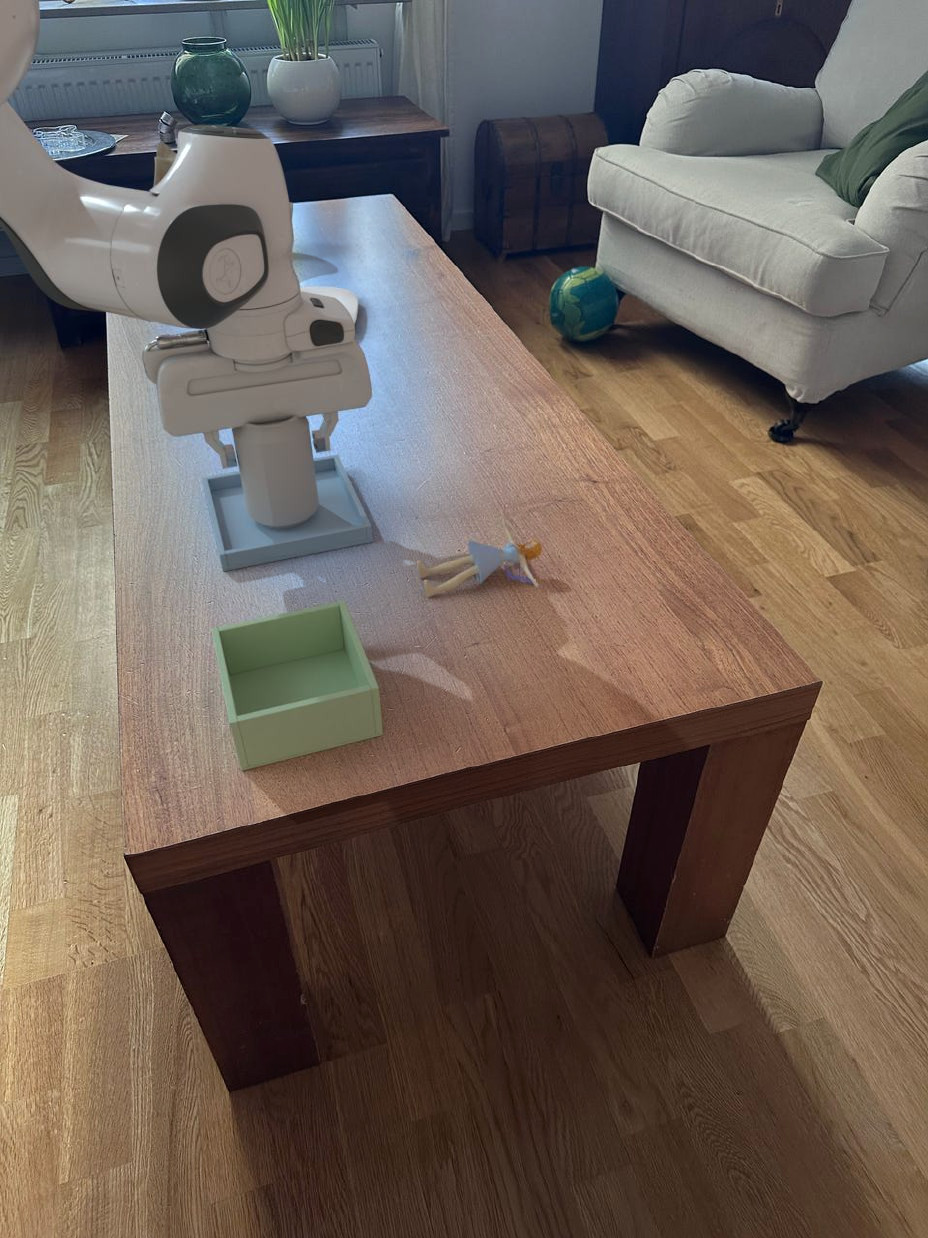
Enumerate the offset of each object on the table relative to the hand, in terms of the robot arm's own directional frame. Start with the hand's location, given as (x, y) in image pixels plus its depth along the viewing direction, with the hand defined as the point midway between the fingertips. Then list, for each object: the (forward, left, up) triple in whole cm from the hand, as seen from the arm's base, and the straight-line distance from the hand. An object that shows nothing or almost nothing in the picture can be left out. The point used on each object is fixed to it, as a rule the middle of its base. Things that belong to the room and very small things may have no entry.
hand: (276, 457), depth 89 cm
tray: (0, 0, -7) cm, 7 cm away
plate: (+10, +53, -7) cm, 54 cm away
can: (0, 0, -7) cm, 7 cm away
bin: (-4, -28, -7) cm, 29 cm away
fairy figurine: (+16, -17, -7) cm, 25 cm away
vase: (+6, +84, -7) cm, 85 cm away
